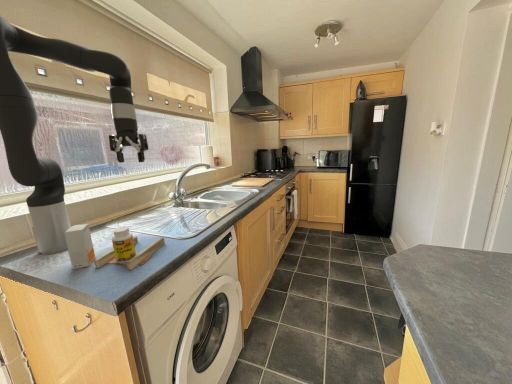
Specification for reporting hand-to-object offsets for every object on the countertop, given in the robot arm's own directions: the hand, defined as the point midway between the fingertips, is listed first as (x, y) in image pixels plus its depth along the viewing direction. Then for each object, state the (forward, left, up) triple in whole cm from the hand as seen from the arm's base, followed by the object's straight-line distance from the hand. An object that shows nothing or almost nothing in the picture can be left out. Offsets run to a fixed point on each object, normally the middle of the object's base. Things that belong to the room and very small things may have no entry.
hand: (131, 162), depth 80 cm
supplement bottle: (+8, -19, -30) cm, 36 cm away
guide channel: (+8, -16, -30) cm, 35 cm away
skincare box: (-4, -22, -30) cm, 38 cm away
